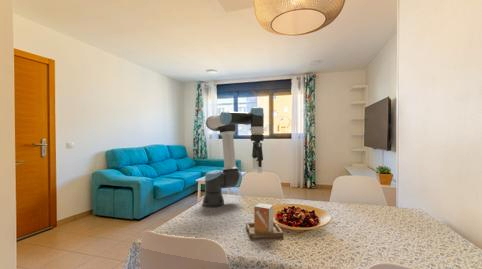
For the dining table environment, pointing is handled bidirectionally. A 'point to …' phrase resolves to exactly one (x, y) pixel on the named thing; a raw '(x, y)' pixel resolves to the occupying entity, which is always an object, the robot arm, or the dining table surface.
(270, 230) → the small box
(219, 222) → the dining table surface
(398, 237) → the dining table surface
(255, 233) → the tray
